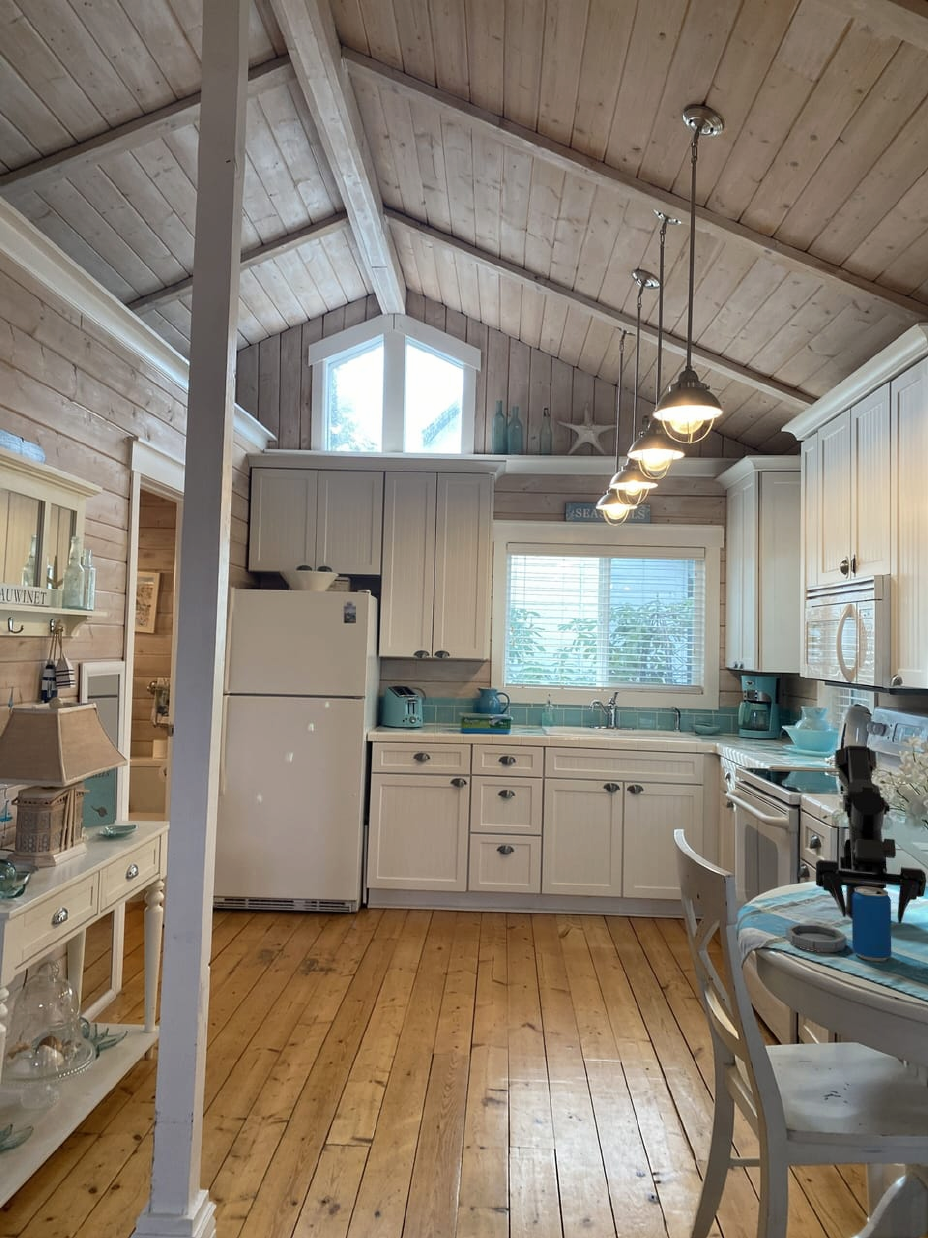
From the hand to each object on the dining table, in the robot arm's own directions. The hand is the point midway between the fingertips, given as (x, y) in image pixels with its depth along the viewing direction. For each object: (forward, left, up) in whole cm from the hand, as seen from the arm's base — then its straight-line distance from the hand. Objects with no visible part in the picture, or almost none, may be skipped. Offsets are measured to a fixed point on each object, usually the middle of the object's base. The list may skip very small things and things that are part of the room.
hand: (871, 919), depth 154 cm
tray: (-7, -8, -7) cm, 13 cm away
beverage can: (-1, 0, -7) cm, 7 cm away
